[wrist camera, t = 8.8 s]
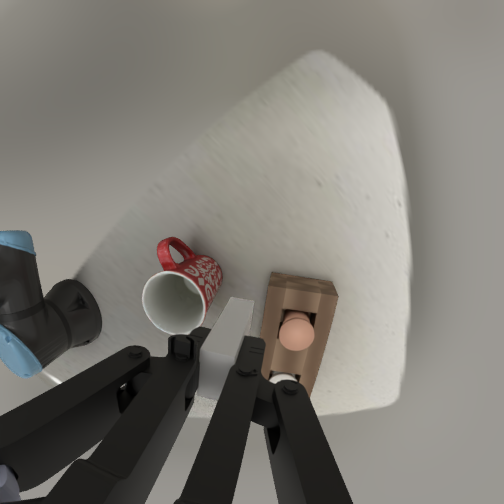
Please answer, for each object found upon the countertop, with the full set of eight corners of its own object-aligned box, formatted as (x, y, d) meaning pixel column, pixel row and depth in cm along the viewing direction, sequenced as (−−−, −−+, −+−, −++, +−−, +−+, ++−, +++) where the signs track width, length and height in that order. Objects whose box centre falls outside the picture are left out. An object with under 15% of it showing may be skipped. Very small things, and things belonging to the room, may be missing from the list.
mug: (234, 297, 48) (213, 333, 35) (185, 303, 49) (153, 338, 36) (216, 223, 46) (188, 235, 33) (167, 234, 47) (126, 249, 34)
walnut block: (253, 380, 51) (248, 402, 44) (271, 272, 46) (268, 285, 39) (304, 387, 50) (305, 411, 43) (331, 281, 45) (338, 296, 38)
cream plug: (268, 373, 49) (265, 395, 42) (273, 352, 48) (270, 373, 41) (294, 377, 48) (294, 399, 42) (300, 356, 47) (300, 377, 41)
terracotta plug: (278, 327, 44) (276, 348, 38) (283, 299, 43) (282, 317, 37) (308, 331, 44) (310, 352, 37) (314, 304, 43) (317, 322, 36)
